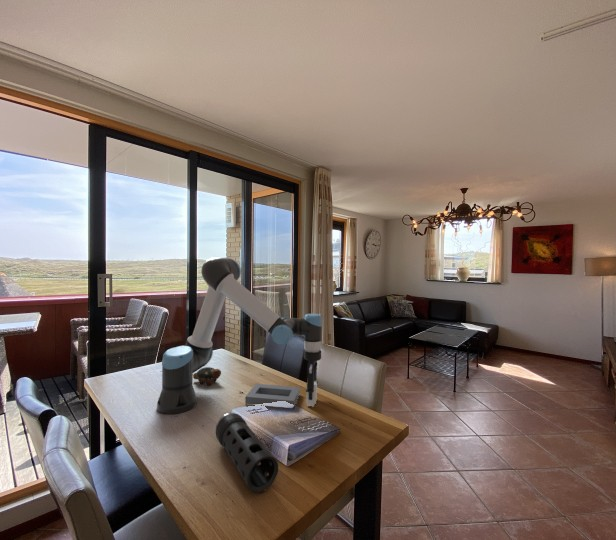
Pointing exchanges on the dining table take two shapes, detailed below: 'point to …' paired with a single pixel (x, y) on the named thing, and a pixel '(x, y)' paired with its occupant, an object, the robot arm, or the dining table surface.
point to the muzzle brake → (247, 452)
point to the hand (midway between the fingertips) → (311, 402)
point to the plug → (314, 392)
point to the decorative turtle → (207, 375)
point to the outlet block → (272, 394)
